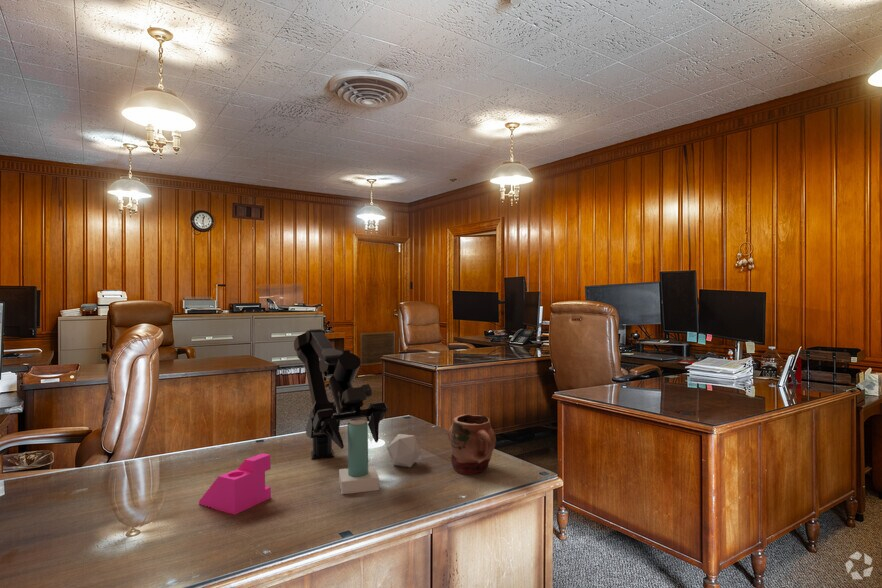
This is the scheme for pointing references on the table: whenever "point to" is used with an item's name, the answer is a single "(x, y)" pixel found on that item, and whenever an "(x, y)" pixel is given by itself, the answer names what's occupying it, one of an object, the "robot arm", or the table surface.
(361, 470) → the thermos
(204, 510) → the table surface
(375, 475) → the block
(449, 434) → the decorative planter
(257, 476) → the bracket
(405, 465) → the die
